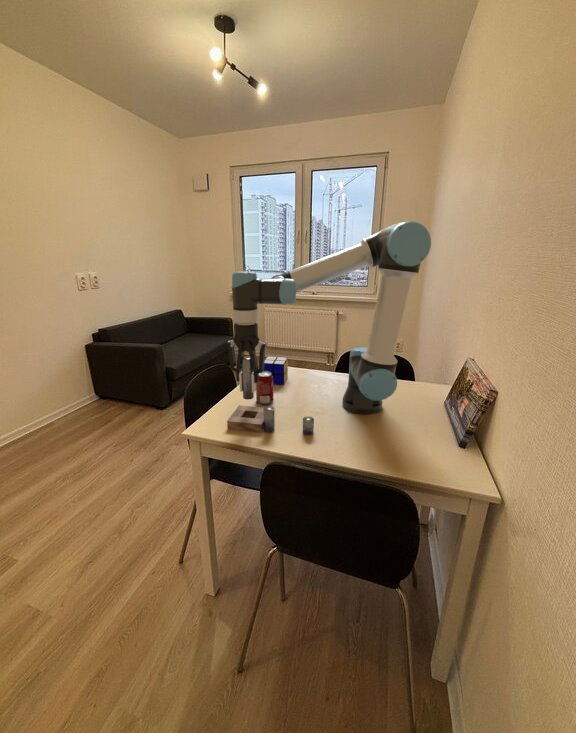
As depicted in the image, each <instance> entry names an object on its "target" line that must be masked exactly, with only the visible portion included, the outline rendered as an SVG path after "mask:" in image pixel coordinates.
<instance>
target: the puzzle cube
mask: <svg viewBox="0 0 576 733" xmlns="http://www.w3.org/2000/svg"><path fill="white" fill-rule="evenodd" d="M288 365H289V359H288V357H282V356H281V357H280V356H278V357H277V356H267V357H265V364H264V371H268V372H271V375H272V376H273V385H277V386H278V385H279V386H284V385H285V383H286V382H287V380H288V378H289V375H288V371H289V367H288Z"/></svg>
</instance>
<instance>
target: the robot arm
mask: <svg viewBox="0 0 576 733" xmlns="http://www.w3.org/2000/svg"><path fill="white" fill-rule="evenodd" d="M431 237H432V236H431V234H430V232H429V231H428V229H427V228H426V227H425V226H424V225H423V224H421V223H420V222H417V221H413V220H412V221H411V220H410V221H409V220H408V221H406V220H404V221H401V222H398V223H394V224H391V225H389V226H386V227H385V228H383V229H381V230H380V231H378V232H375V233H374V234H372V235H370V236H367V237H365V238H363V239H361V241H360V243H358V244H356V245H353V246H350V247H348V248H345V249H343V250H340V251H337V252H334V253H333V254H330V255H327V256H325V257H321V258H320V259H317V260H314V261H312V262H309V263H306V264H303V265H301V266H299V267H296V268H293V269H291V270H288V271H286V272H283V273H281V274H275V275H274V276H271V278H260V277H259V278H258V275H257V273H256V272H255V271H249V270H248V271H246V270H245V271H244V270H243V271H234V272H232V274H231V294H232V295H231V296H232V314H233V316H232V317H233V319H232V320H233V322H234V323H233V334H234V336H233V339H231V340H230V339H229V340H228V341H227V342H225V346H226V347H227V349H228V350H227V351H228V352H227V353H228V358H229V367H230V368H229V369H230V370H231V372H234V373H236V376H235V377H236V382H239V383H238V384H239V392H241V393H243V383H242V358H243V357H245V352H248V355H249V357H250V358H251V363H252V368H253V373H252V374H251V378H252V393H256V383H258V381H259V373H262V372H263V371H264V364H265V359H266V348H267V347H268V343H267V342H263V341H261V340H260V338H259V324H258V323H257V322H258V319H259V318H258V304H259V305H261V304H269V305H270V304H271V305H290V304H291V305H293V304H294V303H295V302H296V300H297V299H296V297H297V293H299V292H301V291H304V290H306V289H309V288H311V287H314V286H318V285H319V284H322V283H326V282H327V281H331V280H334V279H335V278H339V277H341V276H343V275H348V274H350V273H353V272H355V271H358V270H360V269H363V268H365V267H368V268H370V269H371V268H374V267H377V270H378V271H379V273H380V275H381V278H380V283H379V288H378V294H377V298H376V302H375V308H374V314H373V318H372V324H371V329H370V334H369V338H368V344H367V347H365V346H363V347H362V346H361V347H354V348H352V349H351V350H350V354H349V364H348V366H349V367H348V382H347V383H348V384H347V387H346V389H345V392H344V394H343V397H342V400H341V401H342V403H341V404H342V407H344V408H345V410H347V411H349V412H351V413H355V414H360V415H361V414H362V415H372V414H377V413H379V412H380V411H381V410H382V408H383V401H384V400H387V399H388V398H390V397H391V396H393V395H394V393H395V392H396V390H397V387H398V378H397V376H396V370H397V365H398V360H397V358H396V357H395V353H396V348H397V344H398V339H399V335H400V332H401V330H400V329H401V325H402V321H403V319H404V318H403V317H404V312H405V309H406V305H407V304H406V303H407V301H408V300H407V299H408V294H409V291H410V286H411V283H412V279H413V278H415V277H416V276H417V275H418V274H419V271H420V268H421V263H422V262H423V261H424V260H425V259H426V258H427V256H428V255H429V254H430V250H431V247H432V238H431ZM235 346H236V347H237V349H238V350H237V360H236V352H235V351H236V350H235ZM257 346H258V349H259V353H258V354H259V356H258V358H259V359H257V354H256V347H257Z"/></svg>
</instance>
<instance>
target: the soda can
mask: <svg viewBox="0 0 576 733" xmlns="http://www.w3.org/2000/svg"><path fill="white" fill-rule="evenodd" d="M255 395H256V396H255V397H256V402H257V403H259V404H260V405H269V404H271V403H273V401H274V384H273V376H272V375H271V372H268V371H263V372H262V373H259V381H258V383H256V391H255Z"/></svg>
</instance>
